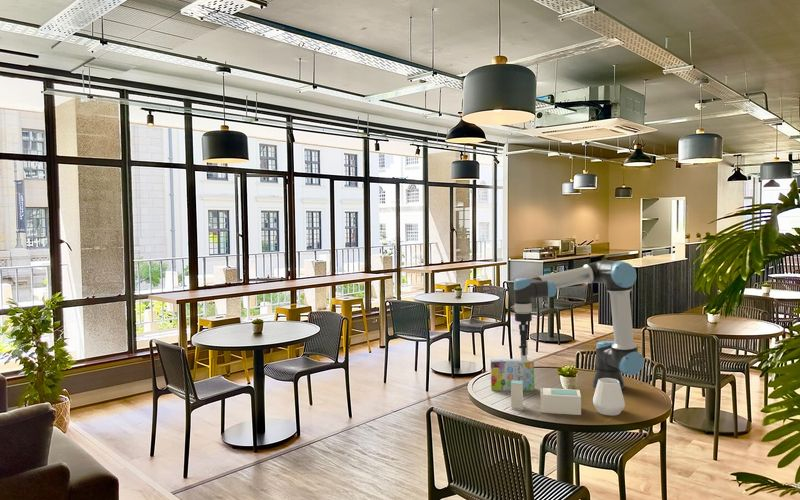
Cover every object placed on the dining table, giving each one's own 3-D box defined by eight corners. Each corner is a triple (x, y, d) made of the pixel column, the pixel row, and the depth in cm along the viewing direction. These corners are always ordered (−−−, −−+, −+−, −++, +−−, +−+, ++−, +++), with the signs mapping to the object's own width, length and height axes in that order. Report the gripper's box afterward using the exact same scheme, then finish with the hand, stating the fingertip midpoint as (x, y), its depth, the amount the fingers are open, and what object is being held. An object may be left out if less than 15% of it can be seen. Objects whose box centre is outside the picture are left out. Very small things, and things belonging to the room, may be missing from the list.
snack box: (532, 387, 281) (532, 358, 280) (534, 391, 276) (534, 361, 275) (490, 387, 283) (490, 358, 282) (491, 390, 278) (490, 361, 277)
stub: (522, 405, 254) (522, 380, 254) (522, 408, 250) (522, 383, 249) (511, 404, 256) (511, 380, 255) (511, 407, 251) (510, 383, 251)
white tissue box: (579, 407, 251) (579, 389, 250) (581, 415, 241) (581, 396, 241) (540, 405, 255) (540, 387, 255) (540, 412, 245) (540, 394, 245)
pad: (523, 405, 256) (523, 404, 256) (522, 410, 249) (522, 409, 249) (511, 404, 257) (511, 403, 257) (510, 409, 250) (510, 408, 250)
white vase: (631, 415, 240) (632, 383, 239) (605, 418, 236) (605, 386, 235) (611, 405, 253) (611, 375, 252) (586, 408, 249) (586, 378, 248)
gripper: (515, 307, 266) (517, 351, 267) (513, 317, 241) (515, 365, 243) (531, 307, 264) (533, 351, 265) (531, 317, 240) (532, 365, 241)
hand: (524, 358), depth 254 cm, fingers open, 13 cm apart
